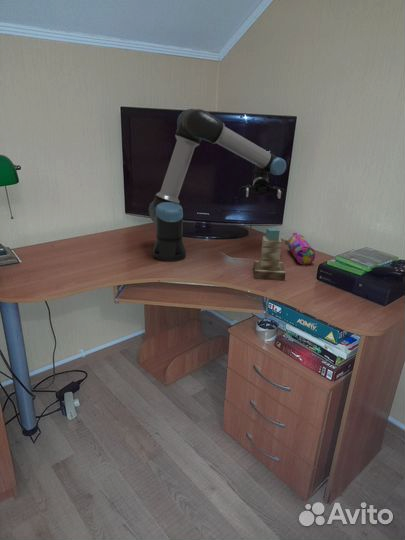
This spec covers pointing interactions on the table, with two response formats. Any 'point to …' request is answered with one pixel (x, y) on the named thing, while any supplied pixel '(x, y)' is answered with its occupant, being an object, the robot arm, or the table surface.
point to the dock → (269, 272)
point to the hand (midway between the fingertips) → (263, 194)
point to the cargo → (272, 234)
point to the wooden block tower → (270, 254)
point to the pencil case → (301, 249)
